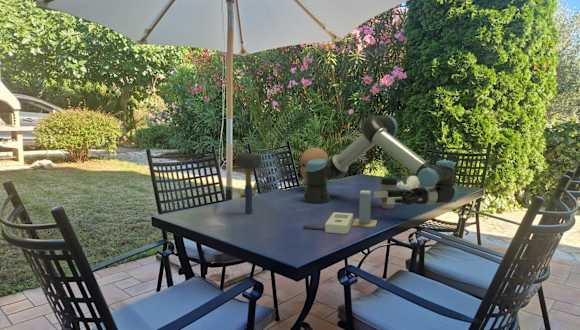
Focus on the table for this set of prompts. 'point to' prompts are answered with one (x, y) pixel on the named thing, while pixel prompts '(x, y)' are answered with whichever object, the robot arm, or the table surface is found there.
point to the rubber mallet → (248, 174)
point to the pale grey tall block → (364, 207)
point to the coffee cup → (388, 185)
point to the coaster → (372, 224)
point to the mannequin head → (311, 158)
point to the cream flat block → (336, 223)
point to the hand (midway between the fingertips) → (380, 197)
